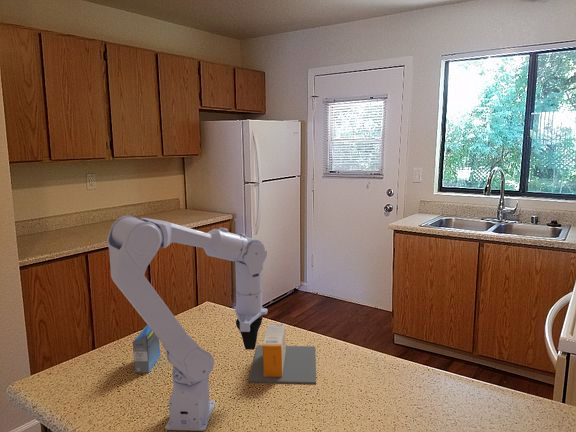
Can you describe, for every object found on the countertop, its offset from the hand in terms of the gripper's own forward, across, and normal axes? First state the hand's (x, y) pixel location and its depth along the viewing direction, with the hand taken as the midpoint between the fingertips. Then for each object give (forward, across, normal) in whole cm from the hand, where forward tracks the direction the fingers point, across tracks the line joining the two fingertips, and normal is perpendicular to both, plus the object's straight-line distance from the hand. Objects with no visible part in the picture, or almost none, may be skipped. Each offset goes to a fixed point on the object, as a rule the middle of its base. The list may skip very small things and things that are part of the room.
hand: (250, 348), depth 98 cm
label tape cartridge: (+10, +10, +28) cm, 31 cm away
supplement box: (+5, +4, -4) cm, 8 cm away
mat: (+10, +12, -7) cm, 17 cm away
